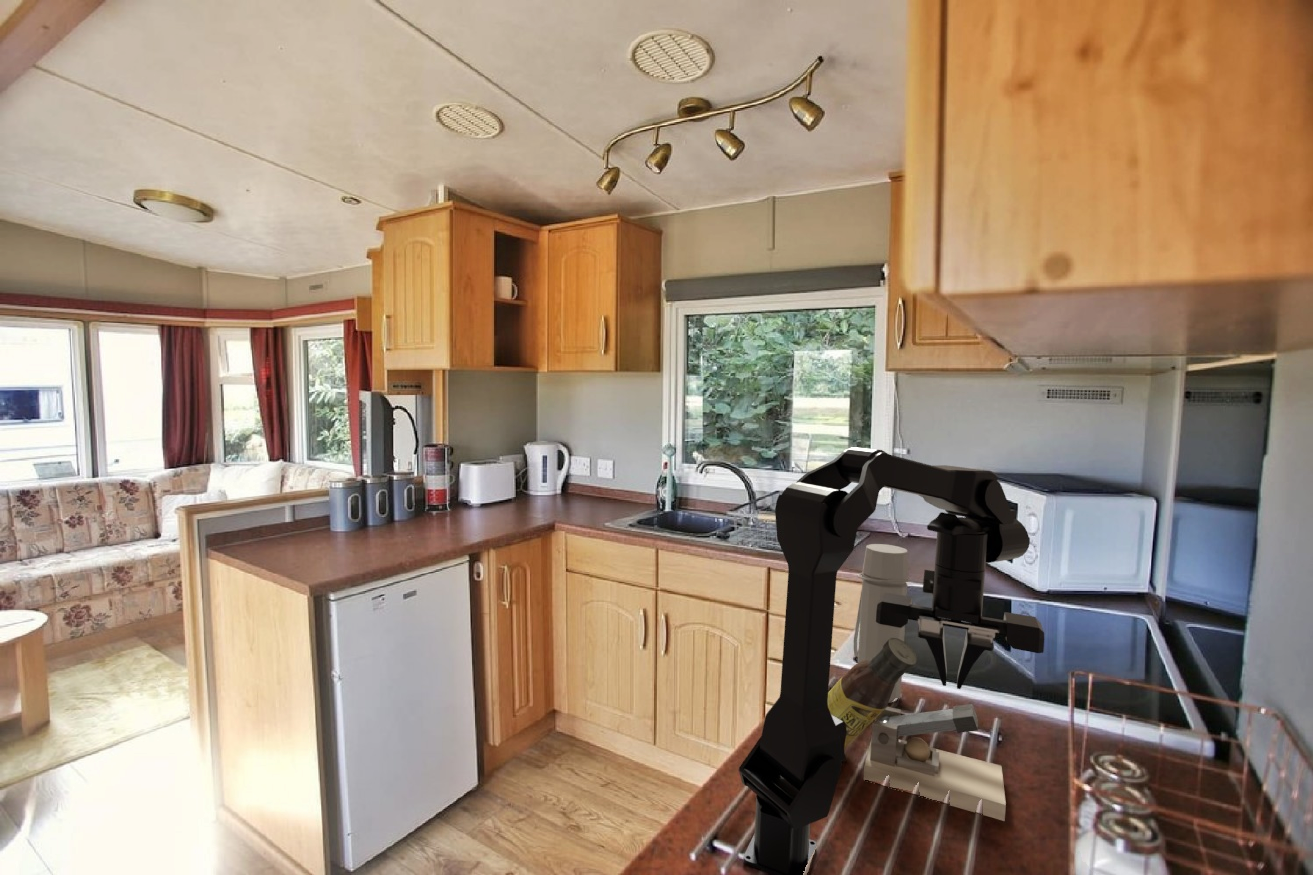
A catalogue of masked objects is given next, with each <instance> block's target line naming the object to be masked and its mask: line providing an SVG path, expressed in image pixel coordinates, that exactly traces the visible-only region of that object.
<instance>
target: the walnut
mask: <svg viewBox="0 0 1313 875" xmlns="http://www.w3.org/2000/svg"><path fill="white" fill-rule="evenodd" d="M906 741H907V743H906V745H905V751H906V754H907V756H908V757H909V758H910V759H912V760H916V761H919V762H925V761H926V760H927V759H928V758H929V756H930V749H929V747H930V746H929V745H928V743H927V742H926V741H925V740H923V739H922V738H921V737H917V736H916V737H911V738H909V739H908V740H906Z"/></svg>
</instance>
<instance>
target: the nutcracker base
mask: <svg viewBox="0 0 1313 875" xmlns="http://www.w3.org/2000/svg"><path fill="white" fill-rule="evenodd" d="M901 711H902V710H901V709H899V708H895V707H890V706H887V707H886V709H885V710H884V711H883V712H882V713H881V714H879V715H878V716H877V718H876V719H874V721H873V722H872V723H871V724H872V725H871V726H872V727H871V740H870V744H869V747H868V752H867V754H866V759H865V761H864V764H863V765H864V766H863V767H864V768H863V781H865V780H869V781H875V782H876V781H877V782H883V780H885V778H886V776H888V775H889V776H890V782H889V783H890V787H893V788H899V789H903V790H908V791H912V790H913V787H915V785H917V783H918V782H919V792H920V796H924V797H926V798H925V799H927V798H929V799H928V800H930V799H932V800H931V801H933V800H937V801H943V799H944V798H945V797H946V795H947V794H948V791H949V790H950V800H949V802H950V805H949V806H951V807H954V808H958V809H961V810H964V811H969V812H971V813H975V810H976V808H977V805H978V802H979V801H980V800H981V799H982V801H983V815H982V816H986V817H989V818H993V819H995V820H999V821H1002V822H1005V821H1006V820H1005V819H1006V807H1007V805H1006V804H1007V802H1006V795H1005V794H1006V793H1005V787H1004V776H1003V768H1002V765H1001V764H996V763H993V762H988V761H984V760H980V759H978V758H977V759H976V758H973V757H968V756H964V755H961V754H958V753H957V754H956V753H954V752H949V751H946V750H942V749H937V748H936V747H930V746H929V749H930V756H929V758H928V759H927V760H926V761H925V762H919V761H916V760H912V759H910V758H909V757H908V756H907V754H906V751H905V745H906V743H907V741H908V740H903V739H900V736H898V737H897V726H896V725H892V724H888V723H884V722H880V720H881V718H882V717H883V716H890V717H891V716H899V715H902V714H901ZM920 796H919V797H920ZM937 801H936V802H937Z"/></svg>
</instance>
